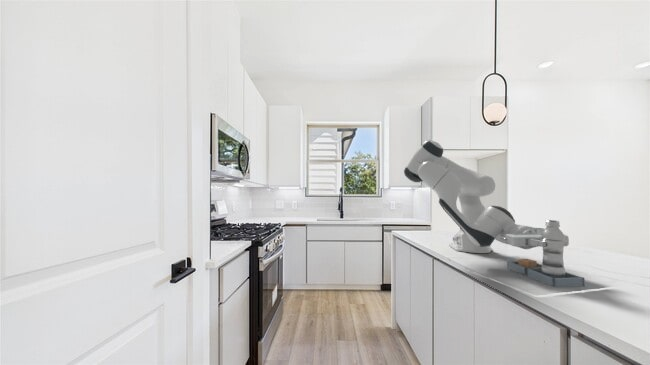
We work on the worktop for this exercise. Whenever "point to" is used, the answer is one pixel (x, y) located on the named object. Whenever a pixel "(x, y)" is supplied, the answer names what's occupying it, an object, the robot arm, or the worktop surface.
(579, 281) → the tray
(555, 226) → the plastic bottle
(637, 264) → the worktop surface
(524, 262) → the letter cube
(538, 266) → the blue-gray square tray
